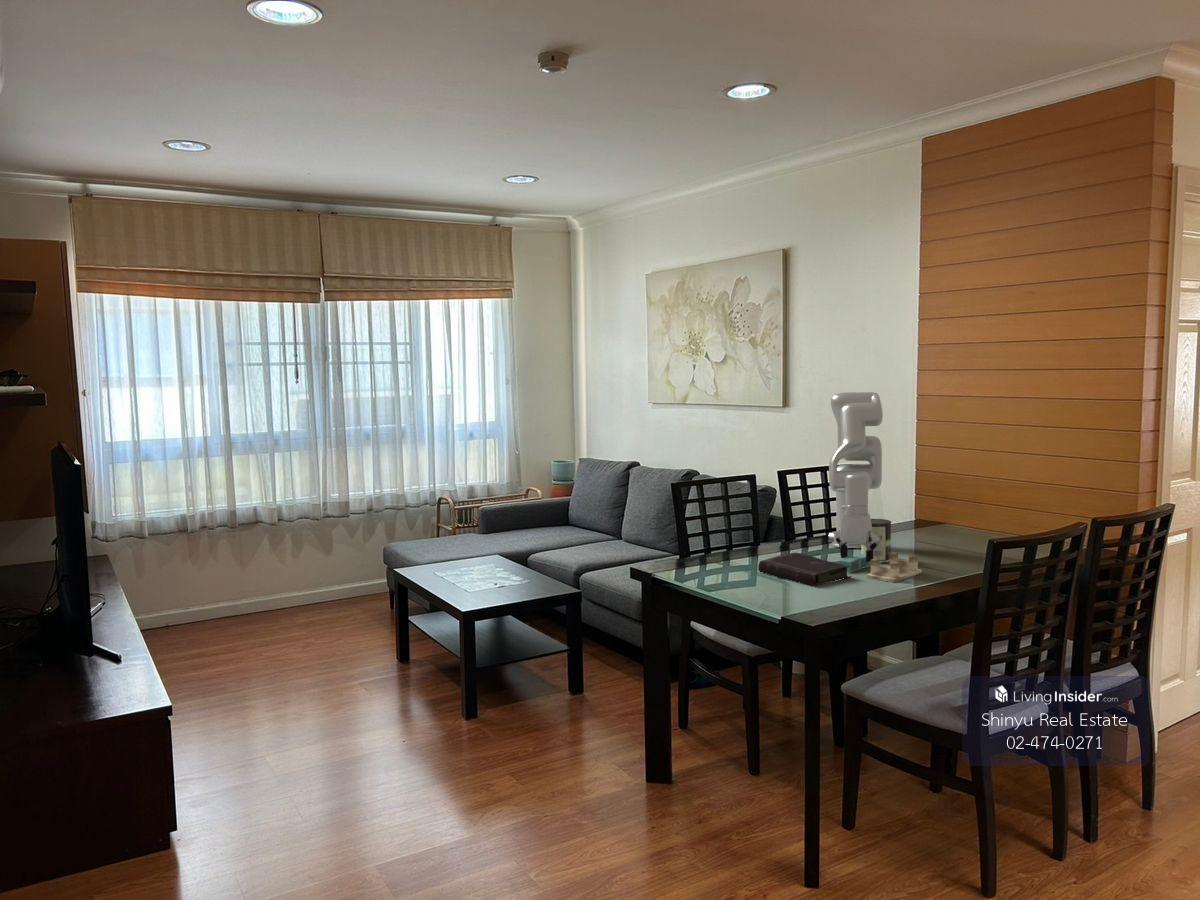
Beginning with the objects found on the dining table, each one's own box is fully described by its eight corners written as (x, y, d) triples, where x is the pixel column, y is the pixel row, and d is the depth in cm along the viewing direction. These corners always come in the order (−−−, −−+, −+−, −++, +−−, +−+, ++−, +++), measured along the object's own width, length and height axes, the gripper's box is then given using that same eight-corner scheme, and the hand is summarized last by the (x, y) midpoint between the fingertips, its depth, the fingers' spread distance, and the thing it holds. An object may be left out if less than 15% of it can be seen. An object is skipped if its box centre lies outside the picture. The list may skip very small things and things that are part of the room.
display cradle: (866, 577, 282) (866, 560, 281) (894, 568, 294) (894, 551, 293) (894, 582, 275) (894, 564, 274) (921, 572, 287) (922, 555, 286)
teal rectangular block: (839, 572, 292) (839, 560, 291) (861, 565, 301) (861, 553, 301) (849, 573, 289) (849, 562, 289) (871, 566, 298) (871, 555, 298)
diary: (813, 589, 272) (812, 573, 272) (758, 574, 293) (757, 560, 293) (853, 579, 282) (852, 564, 282) (797, 565, 303) (796, 551, 303)
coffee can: (879, 555, 313) (879, 517, 312) (897, 561, 303) (897, 522, 302) (854, 558, 310) (854, 519, 309) (872, 564, 300) (872, 524, 299)
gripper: (828, 508, 296) (828, 557, 298) (873, 513, 284) (873, 564, 285) (840, 506, 301) (840, 554, 303) (885, 510, 289) (885, 561, 290)
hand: (856, 559), depth 294 cm, fingers open, 9 cm apart
